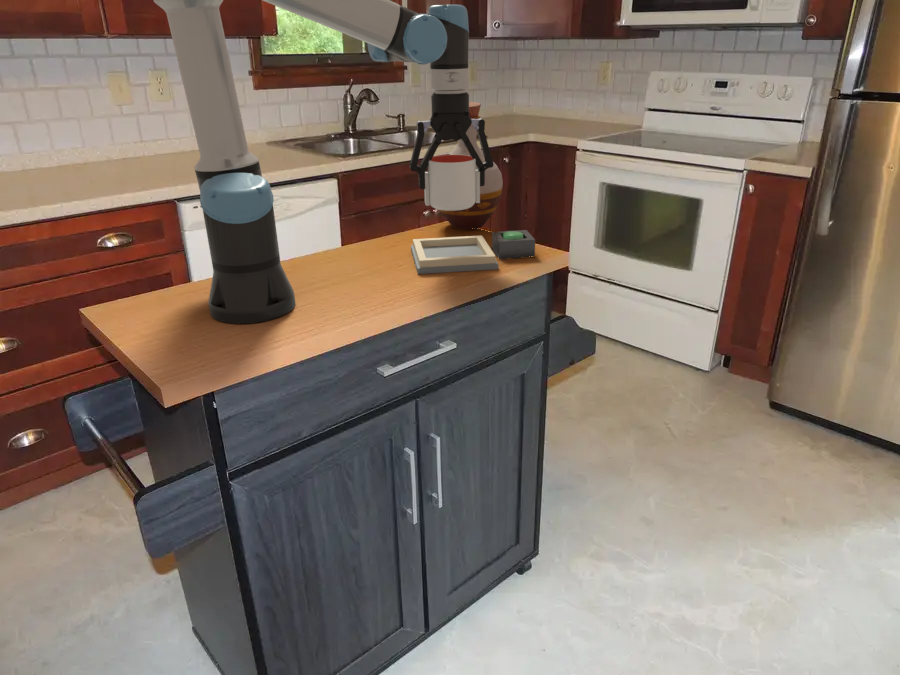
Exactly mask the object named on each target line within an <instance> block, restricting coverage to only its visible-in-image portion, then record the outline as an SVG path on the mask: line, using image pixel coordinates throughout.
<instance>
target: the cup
mask: <svg viewBox="0 0 900 675" xmlns="http://www.w3.org/2000/svg"><path fill="white" fill-rule="evenodd" d="M427 172H428V174H429V200H430V206H431V207H432V208H434V209H436V210H439V211H440V210H446V211H456V210H464V209H468V208H470V207H472V206H473V205H474V204H475V201H476V159H473V158H472V157H471V156H468V155H449V154H442V155H434V156H433V157H432V159H431V161H429V165H428V167H427Z"/></svg>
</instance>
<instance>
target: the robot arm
mask: <svg viewBox="0 0 900 675" xmlns="http://www.w3.org/2000/svg"><path fill="white" fill-rule="evenodd" d="M262 1H263V2H265V3H267V4H270V5H273V6H275V7H277V8H281V9H282V10H284V11H288V12H290V13H293V14H295V15H297V16H300V17H301V18H305V19H306V20H310V21H312V22H314V23H317V24H319V25H322V26H324V27H327V28H328V29H331V30H334V31H336V32H339V33H341V34H344V35H346V36H348V37H352V38H353V39H357V40H359V41H361V42H364V43H367V50H368V53H369V57H370V58H371V59H372V61H375V62H386V63H389V62H403V63H415V64H418V65H421V66H422V65H427V64H429V67H430V89H431V90H432V91H433V92H432V94H431V96H430V97H431V98H430V99H431V102H430V103H431V116H430V117H431V118H430V119H429V120H423V121H422V120H420V119H419V120H417V121H416V130H417V131H416V137H415V141H414V146H413V149H412V153H411V158H410V162H409V169H410V171H411V172H415V173H417V175H418V187H419V189H420V190H424V192H423V193H424V194H423V195H424V204H425V206H426V207H428V206H431V205H430V200H429V174H428V171H427V170H428V165H429V161H431V159H432V157H434V156H435V153H436V152H437V150H438V148H439V145H440V144H441V143H442V141H443V142H448V141H458V140H460V139H461V140H462V142H463V143H464V145H465V147H466V148H467V150H468V152H469V153H470V155H471V157H472V158H473V159H476V166H477V167H478V169H477V170H476V201H475V202H476V203H480V186H484V184H485V170H486V169H488V168H492V167H493V165H494V164H493V162H494V160H493V157H492V154H491V150H490V146H489V142H488V139H487V135H486V133H485V128H486V122H485V120H484V119H483V118H482V117H480V118H479V119H471V118H470V115H469V102H470V94H469V93H468V92H467V90H468V89H470V82H469V81H470V78H469V76H470V74H469V66H470V65H469V46H470V45H469V40H470V39H469V36H470V35H469V34H470V29H469V16H468V10H467V8H466V6H465V5H462V4H435V5H430V6H429V8H428V13H418V12H417V11H414V10H412V9H410V8H408V7H405V6H403V5H400V4H399V3H397V2H394V1H392V0H262ZM153 2H154V4H156V5H157V6H158V7H160V9H162V10H163V11H164V12H165V14H166V17H167V22H168V26H169V29H170V30H169V31H170V35H171V38H172V42H173V47H174V51H175V55H176V59H177V63H178V69H179V72H180V76H181V80H182V85H183V89H184V93H185V96H186V101H187V106H188V109H189V114H190V118H191V123H192V125H193V126H192V127H193V130H194V136H195V139H196V144H197V148H198V152H199V159H198V161H197V163H196V164H195V166H194V172H195V175H196V176H195V177H196V180H197V184H198V189H199V193H200V196H199V203H200V208H201V209H202V214H203V219H204V225H205V230H206V237H207V242H208V248H209V254H210V258H211V259H210V260H211V265H212V270H213V273H212V279H211V284H210V289H209V297H208V309H209V313H210V316H211V318H212V319H215V320H217V321H219V322H222V323H226V324H255V323H261V322H265V321H272V320H273V319H274V320H275V319H277V318H280V317H282V316H284V315H286V314H288V313H290V312H292V311H293V309H294V308H295V307H296V298H295V296H296V295H295V292H294V289H293V287H292V285H291V283H290V281H289V278H288V276H287V274H286V272H285V270H284V268H283V265H282V263H281V257H280V248H279V242H278V241H279V240H278V232H277V227H276V219H275V217H276V216H275V212H274V194H273V191H272V188H271V185H270V183H269V181H268V180H267V179H266V178H265V177H263V174H262V169H261V165H260V160H259V158H258V157H257V156H256V155H254V154H253V153H252V152H251V151H250V150H249V148H248V144H247V143H248V142H247V138H246V133H245V128H244V124H243V118H242V114H241V113H242V112H241V109H240V104H239V99H238V98H239V97H238V93H237V90H236V85H235V80H234V76H233V70H232V65H231V61H230V60H231V59H230V56H229V51H228V50H229V49H228V45H227V40H226V35H225V31H224V27H223V22H222V17H221V12H220V7H221V5H222V3H223V2H224V0H153ZM471 125H473V127H474V129H475V130H477V138H478V141H479V143H480V147H481V148H480V149H481V150H482V152H483V155H484V159H485V162H483V163H482V161H481V159H480V158H479V156H478V154H477V152H476V151H475V149H474V147H473V145H472V144H471V142H470V140H469V138H468V136H467V135H466V132H467V130H468V129H469V127H470V126H471ZM429 127H431V128H432V130H433V131H434V136H433V137H432V141H431V143H430V144H429V146H428V148H427V150H426V152H425V154H424V156H423V158H422V160H421V162H420V164H418V163H419V158H420V154H421V150H422V147H423V142H424V138H425V133H427V132H428V129H429Z"/></svg>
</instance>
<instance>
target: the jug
mask: <svg viewBox="0 0 900 675" xmlns="http://www.w3.org/2000/svg"><path fill="white" fill-rule="evenodd" d="M481 106H482V104H481V103H480V102H475V101H469V115H470V118H471V119H479V118H481V116H480V115H479V114H480V110H481ZM466 135H467V136H468V138H469V140H470V142H471V144H472V145H473V147H474V149H475V151H476V152H477V154H478V156H479V158H480V159H481V161H482V163H483V162H485V159H484V155H483V152H482V148H480V147H479V145H478V143H477V136H478V134H477V130H475V129H474V127H473V125H471V126H470V127H469V129H468V130H467V132H466ZM448 155H468V156H471V155H470V153H469V152H468V150H467V148H466V147H465V145H464V143H463V142H462V140H461V139H460V140H457V144H456V146H455V147H454V148H453V150H452V151H451V152H449V154H448ZM493 164H494V165H493V167H492V168H488V169H486V170H485V184H484V186H480V203H476V202H475V204H474V205H473V206H472V207H470V208H468V209H464V210H456V211H446V210H439V212H440V213H441V214H442V216H443V217H444V218H445V220H446V221H447V222H448V223H449V224H450V225H451V227H452V228H454V229H456V230H457V229H458V230H477V229H480V228H483V226H484V225H485V224H486V223H487V222H488V221H489V219H490V218H491V216H492V215H493V214H494V212H495V211H496V209H497V208H498V205H499V202H500V199H501V195H502V191H503V185H504V184H503V173H502V172H501V170H500V169H499V167H498V165H497V164H496V163H495V162H494V161H493ZM477 169H478V167H477V166H476V170H477ZM472 228H473V229H472ZM474 228H475V229H474Z"/></svg>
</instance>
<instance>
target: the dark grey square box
mask: <svg viewBox="0 0 900 675" xmlns="http://www.w3.org/2000/svg"><path fill="white" fill-rule="evenodd" d="M510 231H511V230H503V231H501V230H499V231H491V233H492V234H491V250H492V251H493V253H494V254H495V256H496V257H497V258H499V259H498V260H509V259H508V258H514V259H522V258H521V257H529V256H530V257H531V256H536V255H535V254H536V239H535V238H534V236H533V235H532V234H531V233H530V232H529V231H528V230H527V229H523V230H518V229H517V230H515V231H516V232H521V233H523V239H505V240H504V239H503V234H504V233H505V232H510ZM531 258H532V257H531Z"/></svg>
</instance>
